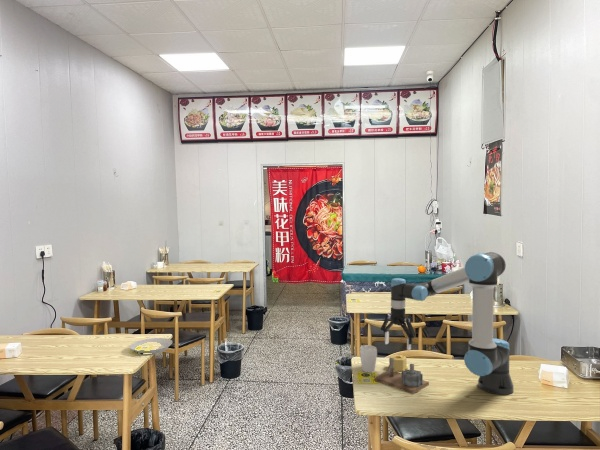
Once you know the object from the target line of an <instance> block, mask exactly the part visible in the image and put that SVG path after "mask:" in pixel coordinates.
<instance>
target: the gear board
mask: <svg viewBox="0 0 600 450" xmlns="http://www.w3.org/2000/svg"><path fill="white" fill-rule="evenodd" d="M388 361H389V363H388V368H389V370H386V371H384V372H382V373H380V374H378V375H375V376H374V377H373V380H374V381H375V382H378V383H381V384H384V385H387V386H389V387H393V388H396V389H398V390H401V391H404V392H407V393H410V394H413V395H415V394H416V393H417V392H420V391H421V390H423V389H425V388H426V387H428V386H429V385H430V381H427V380H425V379H423V378H424V377H423V373H422V372H421V370H415V364H414V363H410V364H409V369H408V370H407V369H405V371H401V372H400V371H398V372H396V371H394V370H393V358H390V357H389V360H388Z"/></svg>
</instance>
